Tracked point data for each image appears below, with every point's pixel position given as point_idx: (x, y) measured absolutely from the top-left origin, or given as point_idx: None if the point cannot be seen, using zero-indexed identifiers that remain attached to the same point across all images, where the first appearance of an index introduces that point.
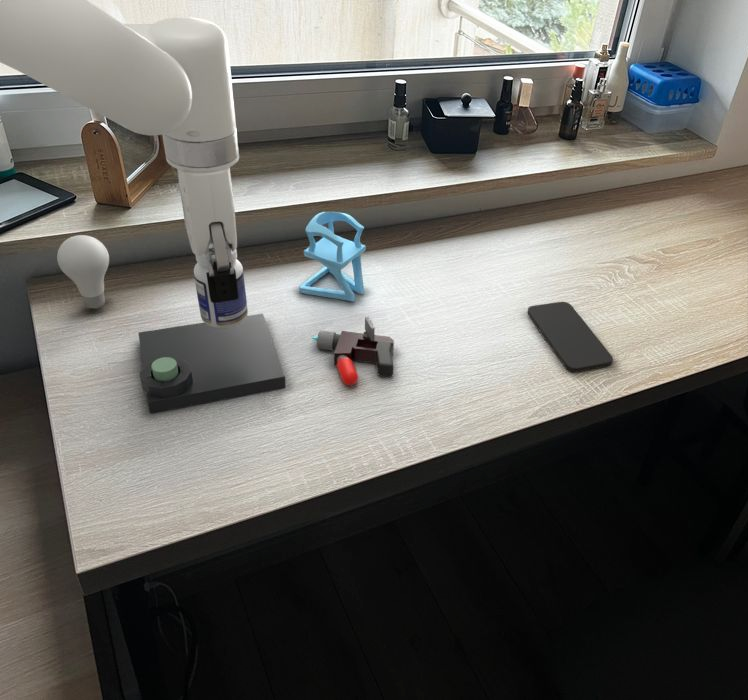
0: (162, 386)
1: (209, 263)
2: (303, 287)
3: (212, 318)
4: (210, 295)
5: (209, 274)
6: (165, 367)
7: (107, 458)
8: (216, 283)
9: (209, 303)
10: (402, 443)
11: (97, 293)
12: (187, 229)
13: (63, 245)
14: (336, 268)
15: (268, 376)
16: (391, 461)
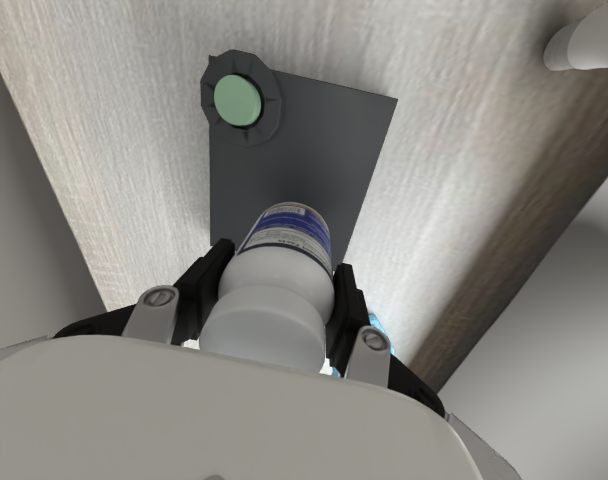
0: (203, 84)
1: (126, 327)
2: (370, 322)
3: (259, 218)
4: (213, 246)
5: (173, 289)
6: (224, 100)
7: None
8: (177, 281)
9: (252, 231)
10: (117, 286)
11: (572, 44)
12: (116, 462)
13: None
14: (334, 375)
15: (215, 231)
16: (96, 270)
